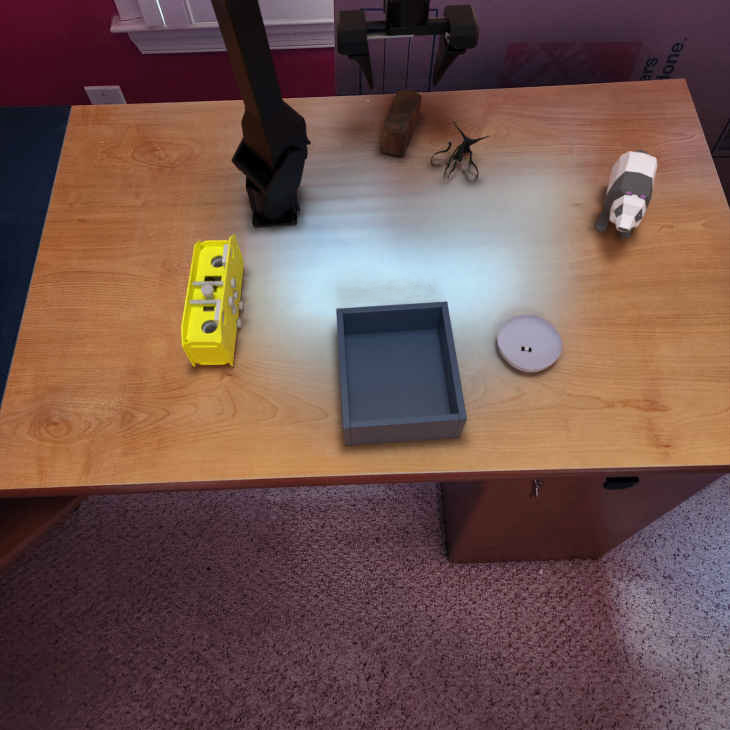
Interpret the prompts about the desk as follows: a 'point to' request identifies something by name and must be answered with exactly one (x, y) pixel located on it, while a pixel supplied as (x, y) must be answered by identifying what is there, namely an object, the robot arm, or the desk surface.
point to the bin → (399, 374)
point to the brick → (400, 122)
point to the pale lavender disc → (529, 343)
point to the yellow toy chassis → (213, 302)
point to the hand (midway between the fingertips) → (402, 86)
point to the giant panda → (628, 192)
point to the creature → (460, 152)
